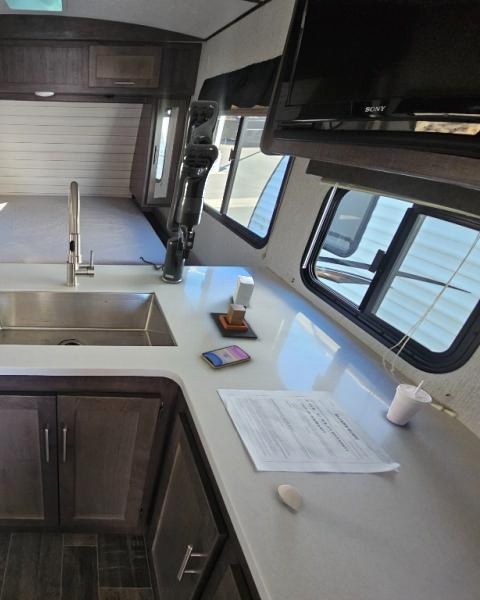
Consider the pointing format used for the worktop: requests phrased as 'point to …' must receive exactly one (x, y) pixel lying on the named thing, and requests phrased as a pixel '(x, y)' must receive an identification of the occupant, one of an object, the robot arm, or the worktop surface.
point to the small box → (243, 290)
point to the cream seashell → (290, 496)
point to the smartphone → (225, 356)
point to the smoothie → (407, 403)
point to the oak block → (235, 315)
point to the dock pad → (233, 327)
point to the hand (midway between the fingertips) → (182, 254)
